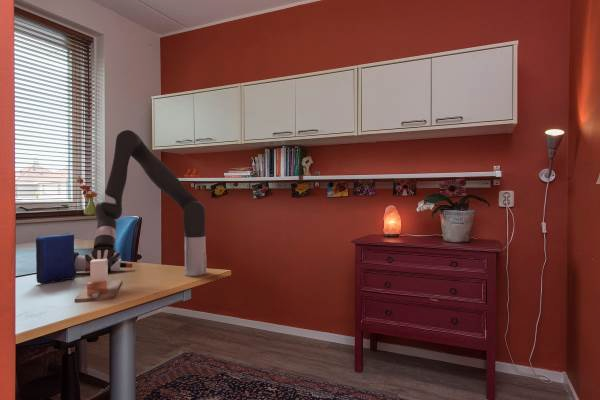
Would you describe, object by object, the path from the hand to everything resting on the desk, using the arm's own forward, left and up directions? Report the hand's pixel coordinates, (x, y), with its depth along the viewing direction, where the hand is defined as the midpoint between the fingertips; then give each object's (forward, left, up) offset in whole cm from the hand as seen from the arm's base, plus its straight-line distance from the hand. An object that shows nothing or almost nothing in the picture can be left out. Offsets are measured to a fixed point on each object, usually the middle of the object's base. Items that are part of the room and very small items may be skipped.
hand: (100, 275), depth 143 cm
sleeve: (0, +3, -5) cm, 5 cm away
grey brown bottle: (+9, -39, -6) cm, 41 cm away
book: (+20, -24, -6) cm, 32 cm away
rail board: (0, +1, -6) cm, 6 cm away
